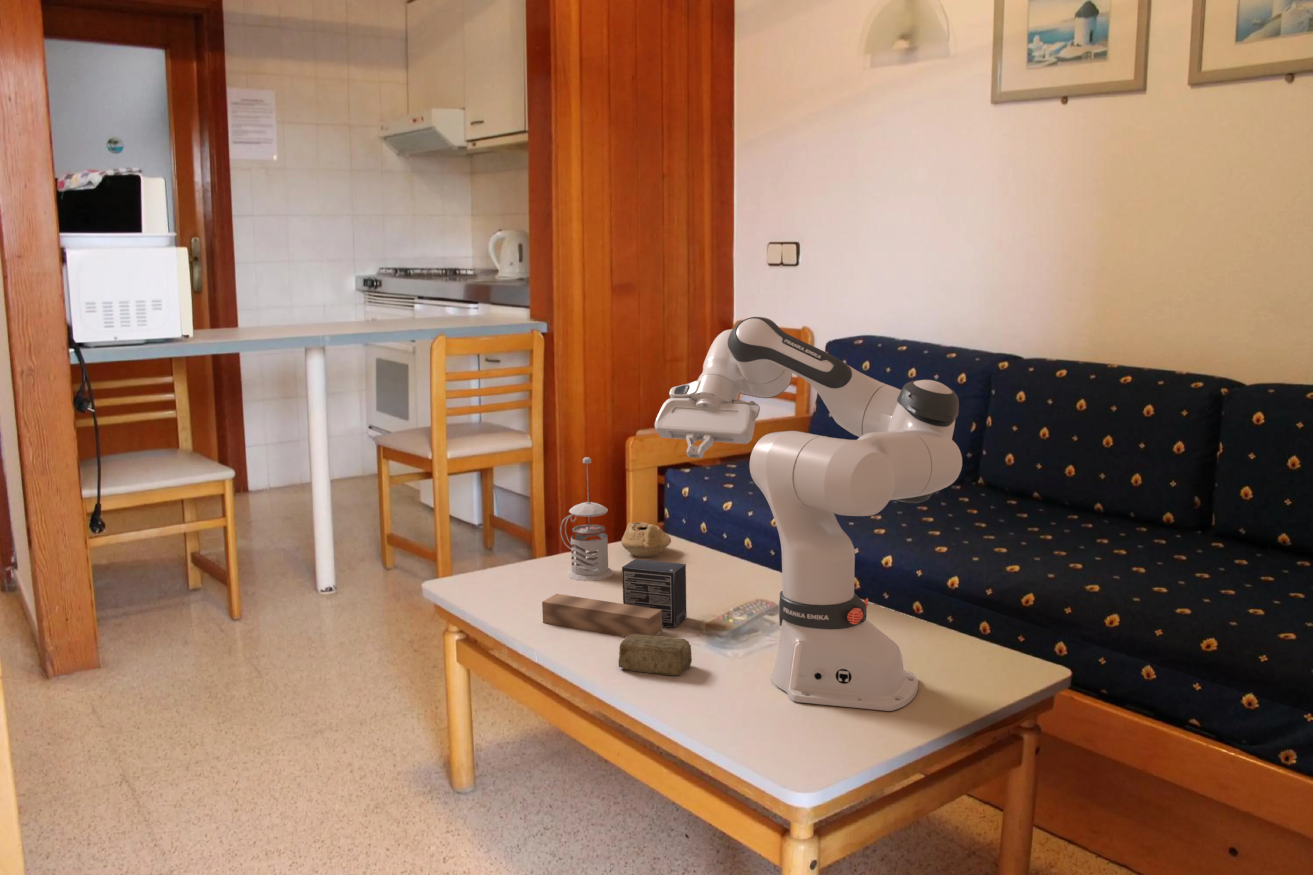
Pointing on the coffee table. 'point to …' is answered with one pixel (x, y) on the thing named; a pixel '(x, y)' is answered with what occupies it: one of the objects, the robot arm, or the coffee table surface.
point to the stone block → (655, 654)
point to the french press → (588, 542)
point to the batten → (601, 616)
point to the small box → (656, 588)
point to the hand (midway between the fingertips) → (693, 456)
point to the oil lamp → (645, 539)
